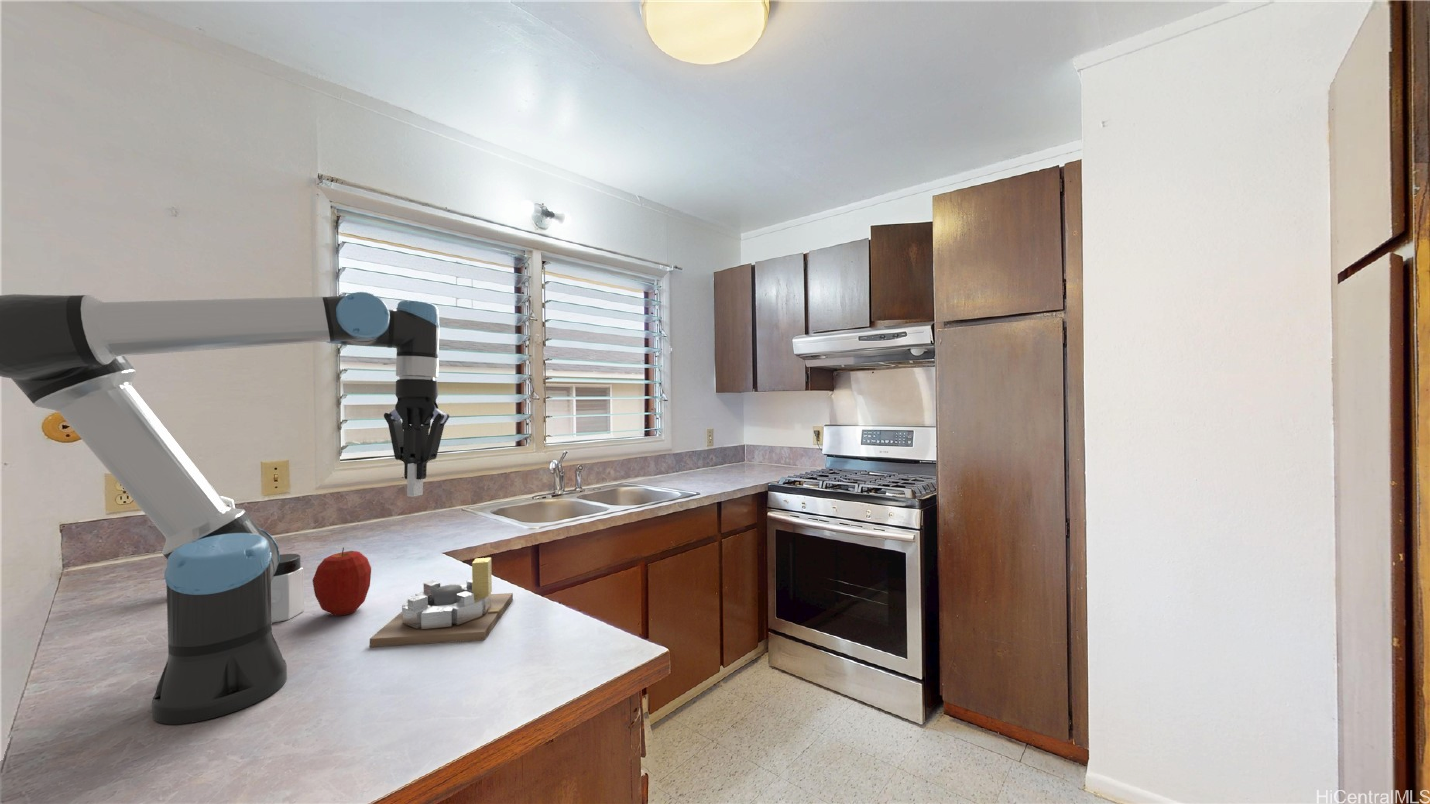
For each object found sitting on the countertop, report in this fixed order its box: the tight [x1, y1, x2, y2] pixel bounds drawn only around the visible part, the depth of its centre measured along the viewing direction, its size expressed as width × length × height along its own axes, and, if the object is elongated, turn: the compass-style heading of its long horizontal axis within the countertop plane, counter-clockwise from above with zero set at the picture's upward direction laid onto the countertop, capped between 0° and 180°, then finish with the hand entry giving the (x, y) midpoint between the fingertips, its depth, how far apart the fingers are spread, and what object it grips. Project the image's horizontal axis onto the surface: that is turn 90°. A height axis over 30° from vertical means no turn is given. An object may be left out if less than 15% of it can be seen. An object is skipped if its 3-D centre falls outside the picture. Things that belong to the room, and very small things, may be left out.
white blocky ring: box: [401, 557, 493, 629], centre depth 109 cm, size 16×15×10 cm
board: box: [369, 584, 514, 648], centre depth 109 cm, size 20×20×6 cm
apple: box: [312, 547, 372, 617], centre depth 114 cm, size 10×10×14 cm
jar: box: [271, 553, 305, 624], centre depth 112 cm, size 9×8×12 cm
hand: (414, 495), depth 109 cm, fingers closed
